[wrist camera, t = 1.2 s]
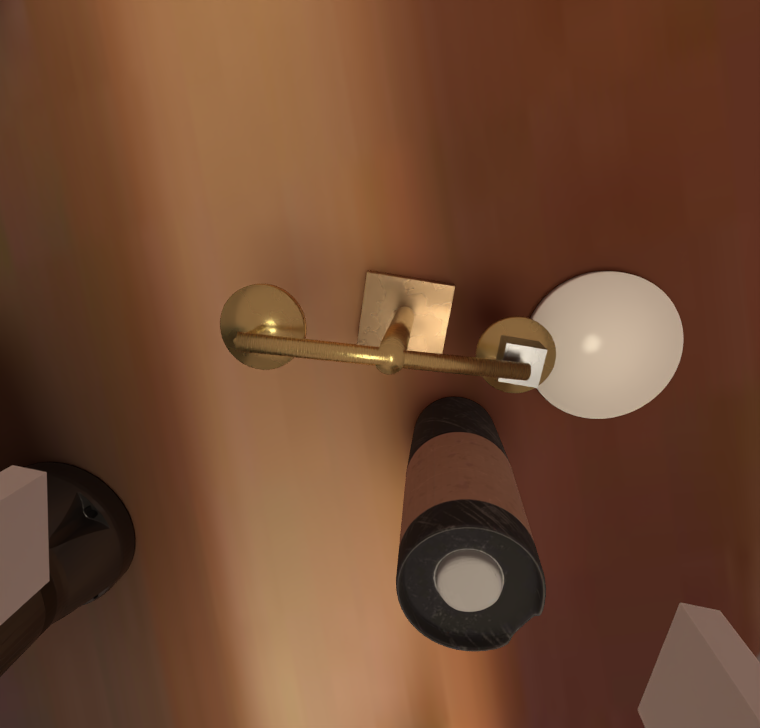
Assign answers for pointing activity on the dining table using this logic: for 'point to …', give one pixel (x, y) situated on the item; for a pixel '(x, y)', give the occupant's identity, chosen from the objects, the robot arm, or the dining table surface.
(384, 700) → the dining table surface
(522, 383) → the balance
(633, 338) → the cream round disc
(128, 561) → the robot arm
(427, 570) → the travel mug
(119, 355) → the dining table surface
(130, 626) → the dining table surface
